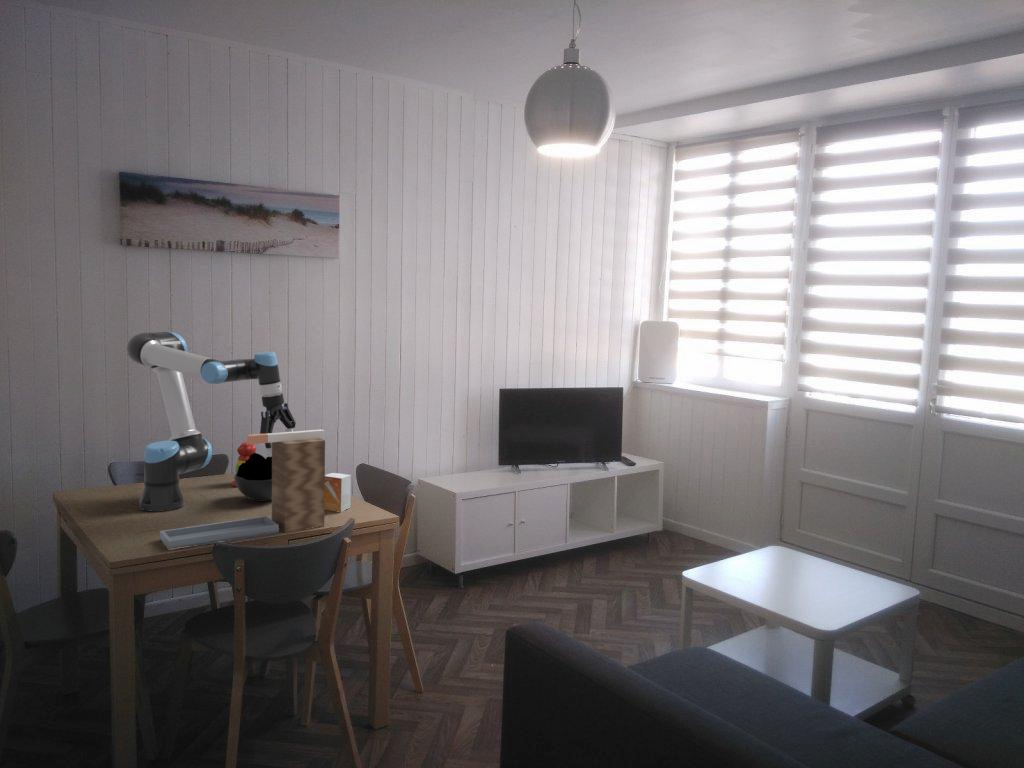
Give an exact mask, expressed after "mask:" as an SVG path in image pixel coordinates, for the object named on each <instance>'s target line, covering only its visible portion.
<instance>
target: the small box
mask: <svg viewBox="0 0 1024 768" xmlns="http://www.w3.org/2000/svg"><path fill="white" fill-rule="evenodd" d="M351 478H352V474H346V473H339V472H338V473H337V472H331V473H327V474H325V500H324V511H331V512H335V511H339V512H338V513H340V512H341V513H343V512H342V511H344V510H346V509H348V508H350V509H351V487H352V486H351V485H352V484H351V482H352V479H351ZM348 510H349V509H348ZM346 511H347V510H346ZM344 512H345V511H344Z"/></svg>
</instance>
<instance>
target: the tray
mask: <svg viewBox="0 0 1024 768" xmlns="http://www.w3.org/2000/svg"><path fill="white" fill-rule="evenodd" d="M279 530H280V529H279V525H278V524H277V523H275V522H274V521H272V518H269V517H268V516H267V515H263V516H262V515H261V516H257V517H256V516H255V517H249V518H241V519H235V520H229V521H221V522H214V523H213V522H212V523H207V524H201V525H200V524H199V525H191V526H186V527H179V528H172V529H165V530H159V540H160V539H161V540H162V541H163V542H164V543H165V544H166V546H168V548H169V549H171V548H177V547H185V546H194V545H203V546H208V545H207V544H210V545H215V544H214V543H215V542H218V541H228V542H230V541H229V540H235V541H238V540H237V539H241V540H245V539H244V538H247V539H251V538H250V537H254V538H258V537H257V536H260V537H264V536H265V535H266V536H272V534H273V535H277V534H279ZM228 542H227V543H228Z"/></svg>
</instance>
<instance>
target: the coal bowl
mask: <svg viewBox="0 0 1024 768" xmlns="http://www.w3.org/2000/svg"><path fill="white" fill-rule="evenodd" d="M233 477H234V481H235V483H236V485H237V487H236V488H237V489H238V490H239V492H240V493H241V494H242V495H243V496H245V497H246V498H248V499H250V500H252V501H257V502H266V501H269V500H272V457H268V456H266V457H265V456H263V455H262V454H259V453H256V452H255V453H253V454H252V455H250V457H249V459H248V460H246V461H245V463H242V464H241V465H240V466H239V469H238V472H237V474H236V473H235V474H234V476H233Z"/></svg>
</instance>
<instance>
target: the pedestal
mask: <svg viewBox="0 0 1024 768" xmlns="http://www.w3.org/2000/svg"><path fill="white" fill-rule="evenodd" d="M325 468H326V440H324V439H323V438H318V439H306V440H294V441H282V442H272V499H271V520H272V521H274V522H275V523H277V524H278V525H279V530H280V531H282V532H283V533H290V531H291V532H296V531H297V530H298V531H303V530H302V529H304V530H308V529H307V528H310V529H313V528H312V527H316V528H320V527H319V526H323V527H325V510H324V500H325V475H326V473H325V472H326V469H325Z"/></svg>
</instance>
